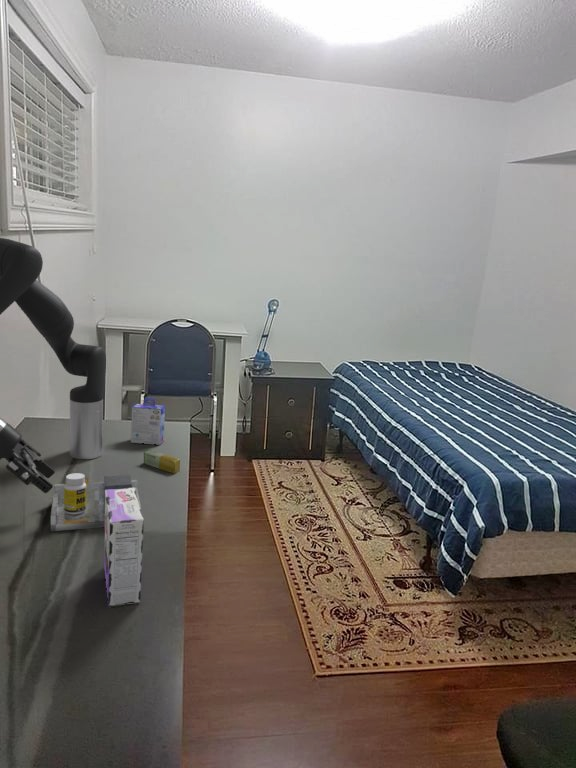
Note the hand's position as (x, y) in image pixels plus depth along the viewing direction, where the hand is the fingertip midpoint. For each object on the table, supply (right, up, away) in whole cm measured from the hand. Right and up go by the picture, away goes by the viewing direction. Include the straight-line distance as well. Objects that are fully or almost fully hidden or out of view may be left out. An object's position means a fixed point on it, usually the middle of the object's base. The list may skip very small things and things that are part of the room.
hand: (50, 482), depth 121 cm
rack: (+8, -9, +6) cm, 13 cm away
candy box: (+22, -16, -20) cm, 33 cm away
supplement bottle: (+4, -7, +4) cm, 9 cm away
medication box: (+16, -3, +38) cm, 41 cm away
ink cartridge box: (+7, +3, +58) cm, 59 cm away
